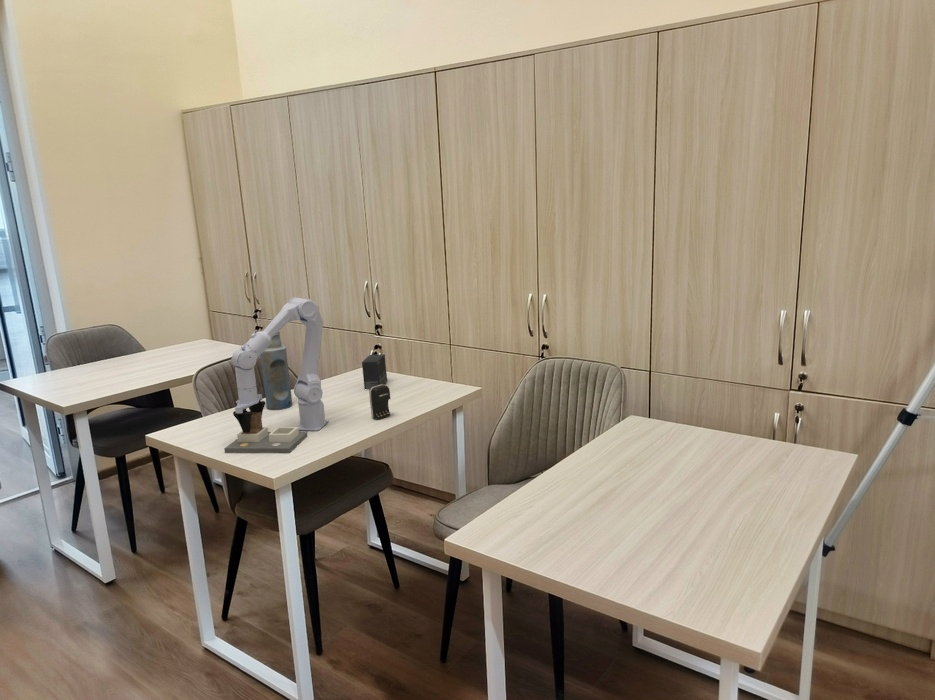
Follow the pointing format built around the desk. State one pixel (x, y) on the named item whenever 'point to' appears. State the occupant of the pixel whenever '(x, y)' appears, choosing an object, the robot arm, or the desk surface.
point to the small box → (374, 371)
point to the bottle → (276, 375)
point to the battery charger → (379, 401)
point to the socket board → (267, 441)
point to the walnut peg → (255, 423)
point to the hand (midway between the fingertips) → (252, 428)
